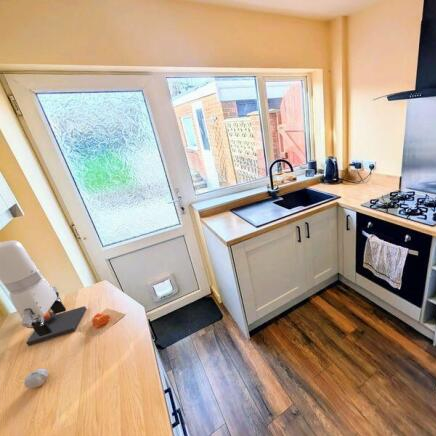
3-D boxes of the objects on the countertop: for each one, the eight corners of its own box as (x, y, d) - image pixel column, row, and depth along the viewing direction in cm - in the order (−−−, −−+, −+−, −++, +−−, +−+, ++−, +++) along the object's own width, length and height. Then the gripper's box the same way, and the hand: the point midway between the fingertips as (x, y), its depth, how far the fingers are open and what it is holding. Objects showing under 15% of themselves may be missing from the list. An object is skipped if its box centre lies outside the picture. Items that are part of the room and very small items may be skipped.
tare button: (39, 322, 99) (37, 318, 99) (43, 316, 102) (41, 313, 101) (48, 319, 100) (46, 316, 100) (52, 314, 103) (49, 311, 102)
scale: (26, 346, 93) (21, 340, 91) (44, 321, 104) (40, 315, 103) (75, 331, 97) (70, 325, 96) (87, 308, 109) (83, 302, 107)
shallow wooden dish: (107, 308, 107) (103, 301, 105) (125, 314, 103) (121, 306, 101) (77, 330, 97) (72, 322, 96) (96, 338, 93) (91, 330, 91)
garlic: (55, 377, 80) (47, 366, 78) (35, 394, 75) (26, 383, 73) (45, 372, 82) (36, 361, 80) (24, 388, 77) (15, 378, 75)
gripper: (25, 268, 79) (52, 308, 86) (-13, 304, 64) (24, 348, 71) (53, 261, 81) (77, 301, 88) (22, 294, 66) (55, 339, 73)
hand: (53, 322), depth 80 cm, fingers open, 9 cm apart
